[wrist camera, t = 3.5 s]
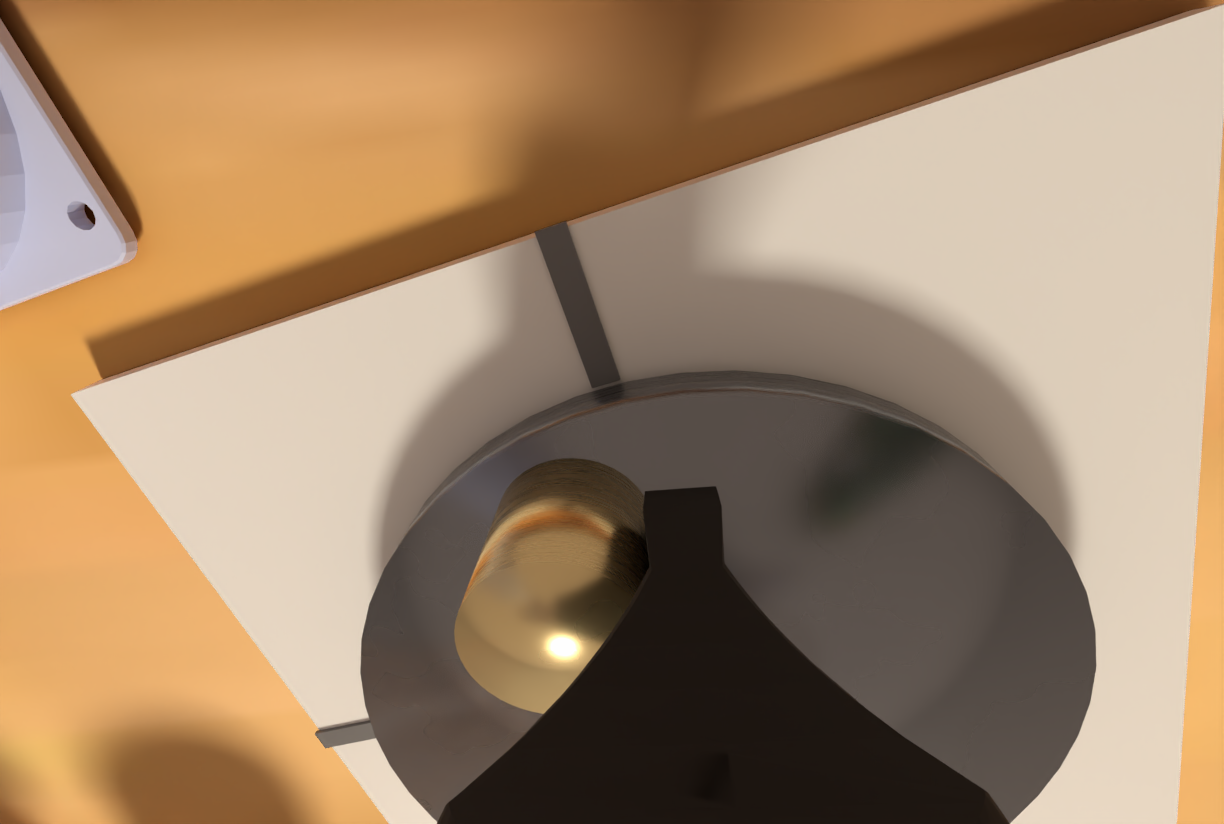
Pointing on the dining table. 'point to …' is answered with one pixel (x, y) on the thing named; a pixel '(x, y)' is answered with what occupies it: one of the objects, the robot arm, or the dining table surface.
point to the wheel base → (767, 369)
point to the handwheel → (735, 575)
